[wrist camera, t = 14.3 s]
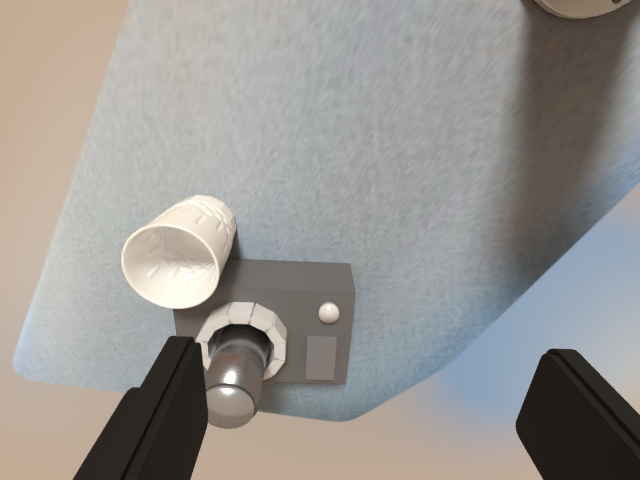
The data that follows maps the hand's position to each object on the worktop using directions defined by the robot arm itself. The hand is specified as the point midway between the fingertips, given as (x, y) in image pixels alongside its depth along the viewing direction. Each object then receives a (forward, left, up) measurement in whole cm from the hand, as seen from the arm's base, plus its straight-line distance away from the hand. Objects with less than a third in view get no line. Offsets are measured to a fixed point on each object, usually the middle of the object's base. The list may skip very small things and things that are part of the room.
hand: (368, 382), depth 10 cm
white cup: (+13, +7, -28) cm, 32 cm away
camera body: (+6, +17, -28) cm, 34 cm away
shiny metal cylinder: (+8, +17, -22) cm, 29 cm away
